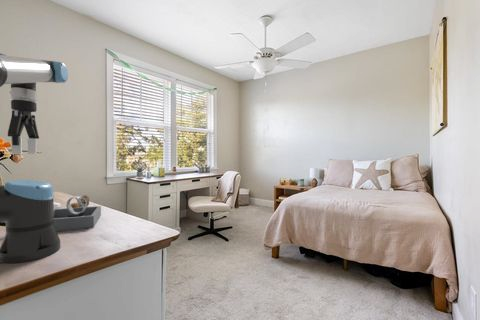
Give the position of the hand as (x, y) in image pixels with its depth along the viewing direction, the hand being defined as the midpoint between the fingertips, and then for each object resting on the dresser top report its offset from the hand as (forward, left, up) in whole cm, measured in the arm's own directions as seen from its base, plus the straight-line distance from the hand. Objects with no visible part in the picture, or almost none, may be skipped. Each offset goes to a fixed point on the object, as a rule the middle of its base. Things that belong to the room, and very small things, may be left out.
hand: (25, 154), depth 95 cm
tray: (+7, -14, -32) cm, 35 cm away
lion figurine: (+25, -13, -32) cm, 42 cm away
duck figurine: (+29, +2, -32) cm, 43 cm away
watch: (+8, -16, -31) cm, 36 cm away
